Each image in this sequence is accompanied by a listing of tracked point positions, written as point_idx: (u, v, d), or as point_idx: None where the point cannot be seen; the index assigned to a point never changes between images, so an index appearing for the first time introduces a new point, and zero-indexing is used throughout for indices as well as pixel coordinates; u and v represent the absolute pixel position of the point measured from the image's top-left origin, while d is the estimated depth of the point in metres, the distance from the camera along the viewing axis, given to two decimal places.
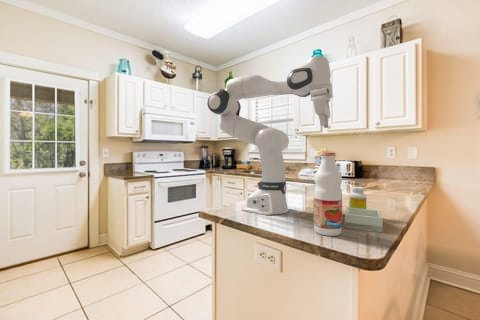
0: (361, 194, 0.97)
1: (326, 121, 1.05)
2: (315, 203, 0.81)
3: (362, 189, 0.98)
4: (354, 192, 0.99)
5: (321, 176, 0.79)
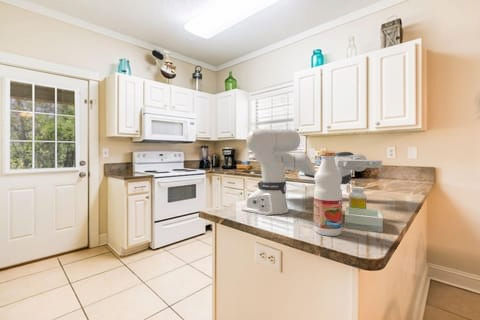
0: (361, 194, 0.97)
1: None
2: (315, 203, 0.81)
3: (362, 189, 0.98)
4: (354, 192, 0.99)
5: (321, 176, 0.79)
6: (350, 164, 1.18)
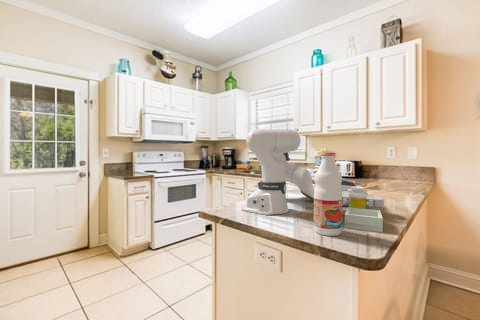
0: (361, 194, 0.97)
1: None
2: (315, 203, 0.81)
3: (362, 189, 0.98)
4: (354, 192, 0.99)
5: (321, 176, 0.79)
6: None
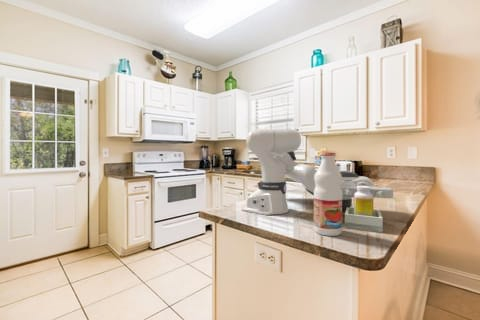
0: (368, 194, 0.86)
1: None
2: (315, 203, 0.81)
3: (369, 188, 0.87)
4: (360, 192, 0.88)
5: (321, 176, 0.79)
6: (353, 192, 0.95)
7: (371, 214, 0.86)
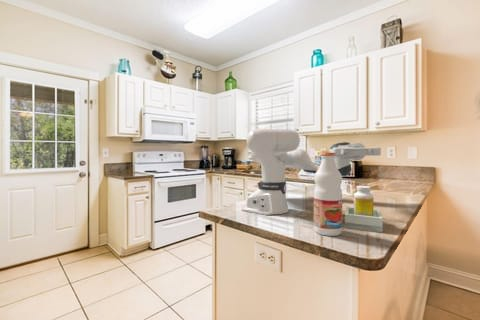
0: (367, 194, 0.87)
1: None
2: (315, 203, 0.81)
3: (369, 188, 0.87)
4: (359, 192, 0.88)
5: (321, 176, 0.79)
6: (348, 152, 1.13)
7: (371, 214, 0.86)
